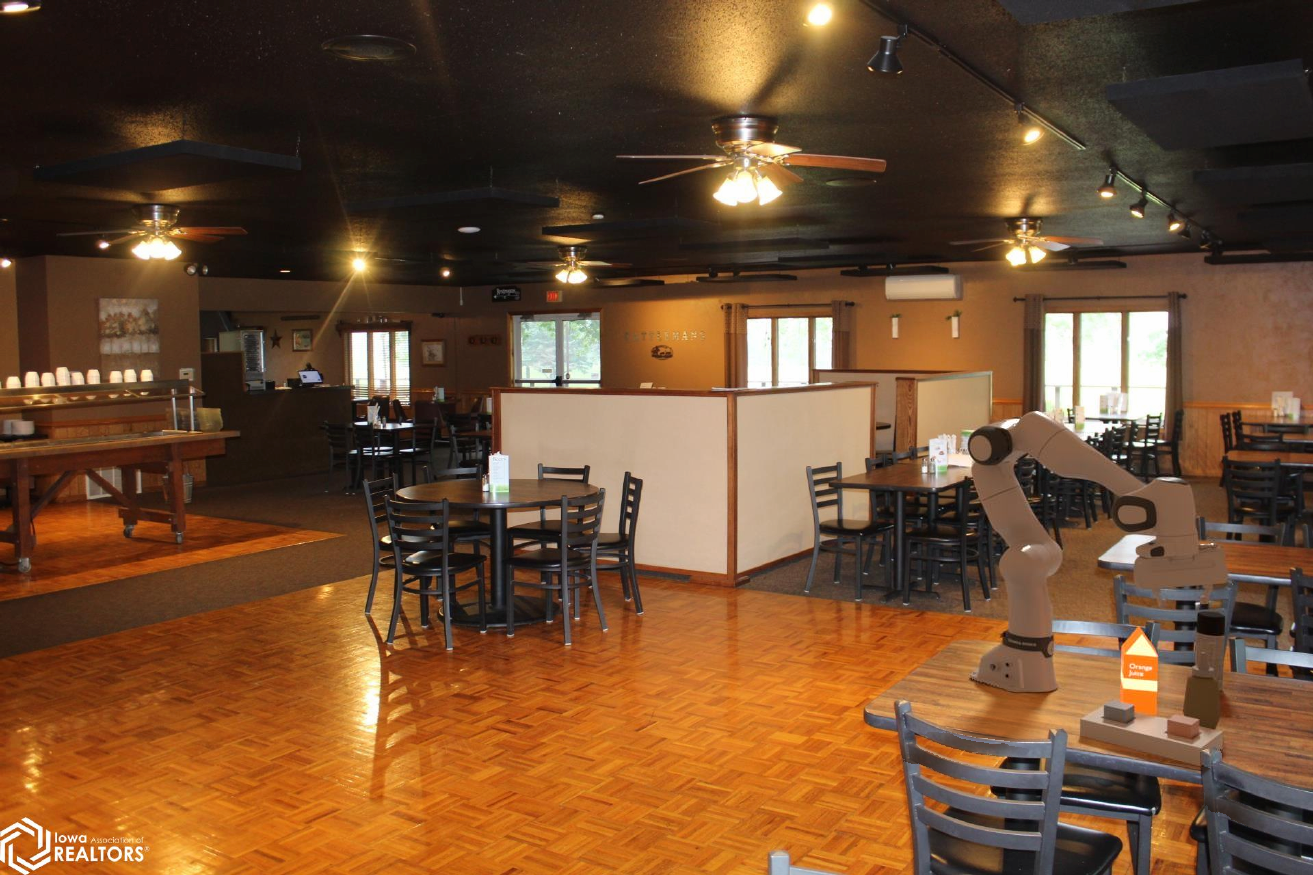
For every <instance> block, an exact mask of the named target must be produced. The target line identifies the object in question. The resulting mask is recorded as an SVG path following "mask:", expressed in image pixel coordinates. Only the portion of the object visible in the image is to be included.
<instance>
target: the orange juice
mask: <svg viewBox="0 0 1313 875" xmlns="http://www.w3.org/2000/svg"><path fill="white" fill-rule="evenodd" d="M1120 657H1121V658H1120V659H1121V662H1120V698H1119V699H1120V701H1119V702H1124V703H1128V704H1133V705H1135V712H1140V713H1144V714H1149V715H1153V716H1157V709H1158V708H1157V707H1158V705H1157V703H1158V671H1159V669H1158V668H1159V655H1158V652H1157V651H1156V647H1154V645H1153V644H1152V643H1151V641H1150V639H1148V637H1147V635H1146V634H1145V633H1144V631H1143V630H1142V628H1141V627H1140V626H1139V625H1138V626H1137V627H1136V628H1135V630H1134V631H1133V632H1131V635H1130V636H1129V637H1128V638H1127V639H1126V640H1125V642H1123V644H1122V645H1121V656H1120Z"/></svg>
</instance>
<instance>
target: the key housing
mask: <svg viewBox="0 0 1313 875" xmlns="http://www.w3.org/2000/svg"><path fill="white" fill-rule="evenodd" d="M1167 719H1168V718H1165V717H1161V716H1157V715H1149V714H1144V713H1140V712H1135V711H1134V720H1133V721H1131V722H1129V723H1128V724H1125V723H1121V722H1116V721H1112V720H1108V719H1104V705H1102V706H1101V707H1099V708H1097V709H1095V710H1094V711H1092V712H1090V713H1088V714H1086V715H1084V716H1082V717H1081V718H1080V722H1079V736H1080V737H1083V738H1084V737H1085V738H1087V739H1091V740H1095V741H1099V742H1104V743H1107V744H1111V745H1115V746H1119V747H1122V748H1128V749H1131V750H1134V751H1139V752H1143V753H1146V754H1151V755H1155V756H1158V757H1161V758H1162V757H1163V758H1165V759H1169V760H1170V759H1171V760H1174V761H1177V762H1182V763H1187V764H1189V765H1194V766H1197V767H1201V766H1202V765H1200V752H1201V751H1202V750H1205V749H1208V748H1210V747H1216V748H1218V749H1221V751H1222V750H1223V745H1224V744H1223V743H1224V742H1223V741H1224V740H1223V738H1224V737H1223V736H1224V731H1223V730H1222V731H1221V730H1218V729H1215V730H1214V729H1210V728H1205V727H1201V726H1199V735H1198V736H1197V737H1196V738H1194V739H1193V740H1192V739H1188V738H1184V737H1179V736H1175V735H1171V734H1167Z"/></svg>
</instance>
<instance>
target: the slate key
mask: <svg viewBox="0 0 1313 875" xmlns="http://www.w3.org/2000/svg"><path fill="white" fill-rule="evenodd" d="M1103 706H1104V719H1108V720H1112V721H1116V722H1121V723H1125V724H1128V723H1129V722H1131V721H1133V720H1134V711H1135V705H1133V704H1128V703H1124V702H1120V701H1118V700H1114V699H1112V700H1110V701H1109V702H1107V703H1105V704H1103Z"/></svg>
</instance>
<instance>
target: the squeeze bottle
mask: <svg viewBox="0 0 1313 875" xmlns="http://www.w3.org/2000/svg"><path fill="white" fill-rule="evenodd" d="M1182 713H1183V714H1182V715H1183V716H1186V717H1190V718H1195V719H1199V726H1201V727H1205V728H1210V729H1214V730H1217V729H1216V728H1217V727H1218V723H1220V719H1221V717H1222V711H1221V700H1220V691H1219V685H1218V680H1217V679H1216V678H1214V669H1213V668H1211V667H1209V664H1208V659H1207V654H1206V653H1204V652H1201V654H1200V657H1199V661H1198V664H1197V666H1195V665H1193V666H1192V667H1191V674H1190V675H1188V676H1187V679H1186V685H1185V694H1184V699H1183V707H1182Z"/></svg>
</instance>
